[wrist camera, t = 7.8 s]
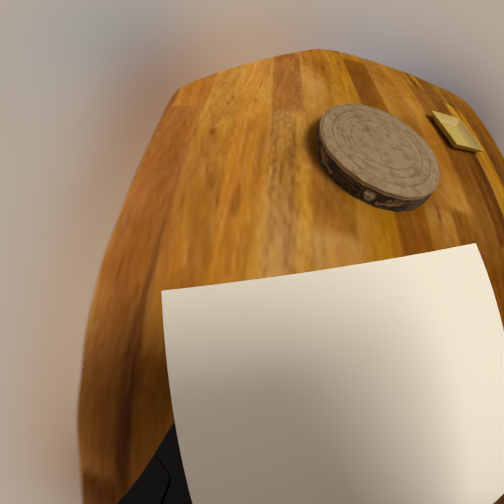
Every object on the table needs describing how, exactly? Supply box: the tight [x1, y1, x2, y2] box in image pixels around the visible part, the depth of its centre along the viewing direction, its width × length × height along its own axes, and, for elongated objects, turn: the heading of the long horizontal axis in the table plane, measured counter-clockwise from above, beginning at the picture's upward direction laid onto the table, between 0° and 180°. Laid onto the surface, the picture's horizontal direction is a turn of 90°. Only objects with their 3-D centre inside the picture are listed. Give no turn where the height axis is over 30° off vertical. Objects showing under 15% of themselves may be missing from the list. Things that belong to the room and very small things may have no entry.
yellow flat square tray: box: [432, 111, 483, 152], centre depth 35 cm, size 9×9×2 cm
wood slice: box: [315, 104, 440, 212], centre depth 29 cm, size 16×16×3 cm
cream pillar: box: [162, 243, 504, 504], centre depth 8 cm, size 5×5×12 cm
